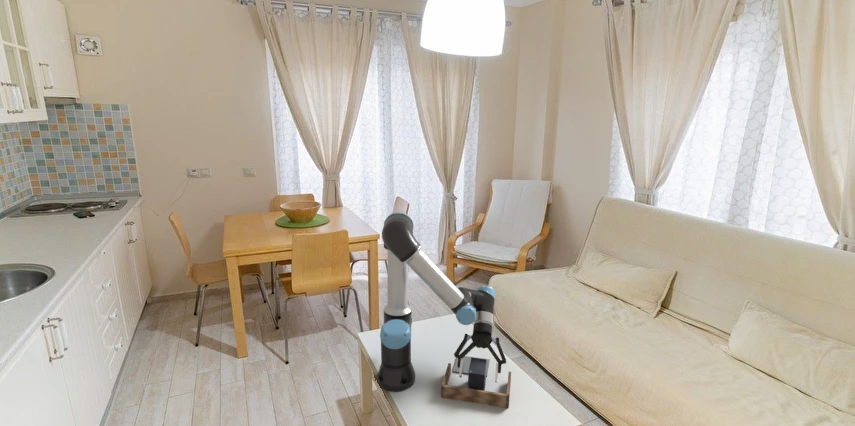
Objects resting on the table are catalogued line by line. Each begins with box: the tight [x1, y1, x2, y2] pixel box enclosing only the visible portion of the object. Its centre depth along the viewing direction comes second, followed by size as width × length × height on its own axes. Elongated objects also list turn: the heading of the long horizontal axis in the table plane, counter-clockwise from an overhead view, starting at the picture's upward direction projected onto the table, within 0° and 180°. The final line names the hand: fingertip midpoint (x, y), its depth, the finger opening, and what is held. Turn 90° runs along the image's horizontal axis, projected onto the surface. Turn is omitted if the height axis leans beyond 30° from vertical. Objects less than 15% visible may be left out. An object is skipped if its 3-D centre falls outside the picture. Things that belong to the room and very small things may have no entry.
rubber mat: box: [452, 355, 491, 378], centre depth 181 cm, size 14×12×1 cm
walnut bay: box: [440, 362, 512, 409], centre depth 166 cm, size 25×15×5 cm, turn 77°
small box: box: [467, 356, 487, 391], centre depth 165 cm, size 11×6×10 cm, turn 168°
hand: (477, 379), depth 164 cm, fingers open, 13 cm apart
